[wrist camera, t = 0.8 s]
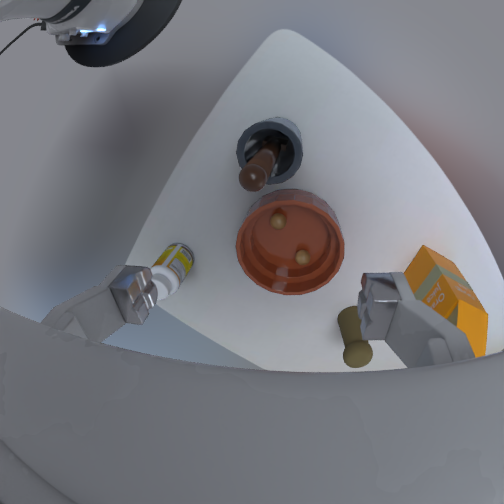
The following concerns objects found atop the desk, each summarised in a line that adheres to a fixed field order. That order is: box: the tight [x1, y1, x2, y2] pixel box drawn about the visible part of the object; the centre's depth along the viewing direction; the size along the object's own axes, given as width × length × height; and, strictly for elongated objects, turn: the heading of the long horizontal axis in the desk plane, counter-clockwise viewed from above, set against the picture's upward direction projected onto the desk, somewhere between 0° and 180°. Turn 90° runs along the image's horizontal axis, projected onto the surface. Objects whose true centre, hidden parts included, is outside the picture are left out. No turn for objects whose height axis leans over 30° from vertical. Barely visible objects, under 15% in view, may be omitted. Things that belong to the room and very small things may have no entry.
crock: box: [236, 117, 303, 185], centre depth 30 cm, size 6×6×12 cm
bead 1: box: [270, 213, 287, 230], centre depth 40 cm, size 2×2×2 cm
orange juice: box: [404, 245, 488, 357], centre depth 32 cm, size 8×9×20 cm
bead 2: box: [295, 250, 310, 265], centre depth 42 cm, size 2×2×2 cm
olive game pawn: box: [338, 306, 373, 368], centre depth 44 cm, size 6×6×11 cm
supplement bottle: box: [151, 244, 194, 300], centre depth 44 cm, size 6×6×10 cm
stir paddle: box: [239, 136, 289, 192], centre depth 25 cm, size 3×2×22 cm, turn 81°
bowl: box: [236, 189, 344, 295], centre depth 40 cm, size 15×15×6 cm
